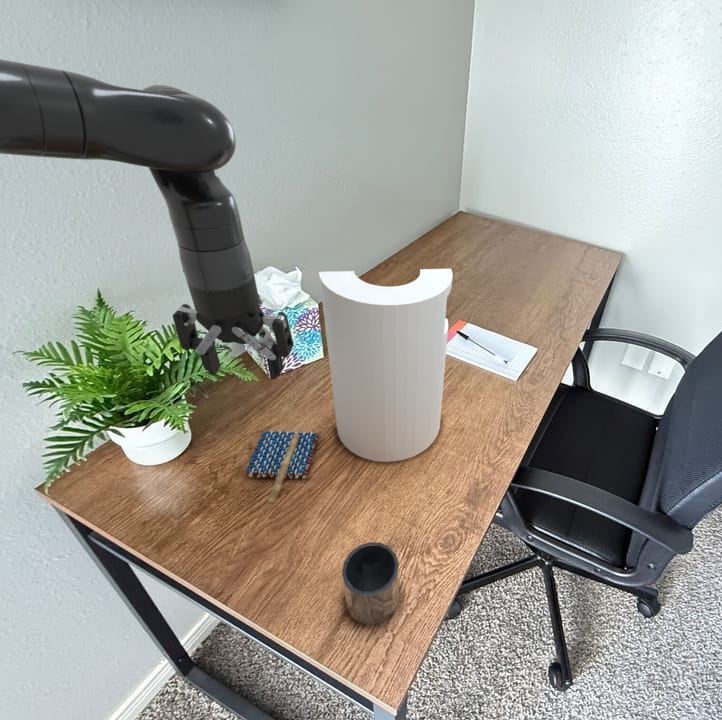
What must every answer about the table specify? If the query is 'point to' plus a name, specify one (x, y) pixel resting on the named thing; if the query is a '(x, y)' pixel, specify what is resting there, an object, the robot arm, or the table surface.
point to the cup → (371, 582)
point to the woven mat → (282, 454)
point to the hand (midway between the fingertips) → (245, 373)
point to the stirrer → (283, 469)
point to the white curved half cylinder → (386, 361)
